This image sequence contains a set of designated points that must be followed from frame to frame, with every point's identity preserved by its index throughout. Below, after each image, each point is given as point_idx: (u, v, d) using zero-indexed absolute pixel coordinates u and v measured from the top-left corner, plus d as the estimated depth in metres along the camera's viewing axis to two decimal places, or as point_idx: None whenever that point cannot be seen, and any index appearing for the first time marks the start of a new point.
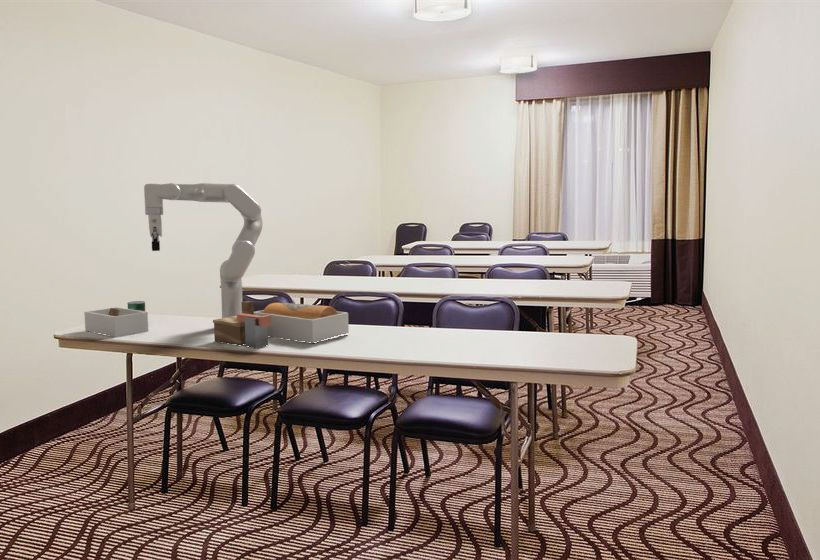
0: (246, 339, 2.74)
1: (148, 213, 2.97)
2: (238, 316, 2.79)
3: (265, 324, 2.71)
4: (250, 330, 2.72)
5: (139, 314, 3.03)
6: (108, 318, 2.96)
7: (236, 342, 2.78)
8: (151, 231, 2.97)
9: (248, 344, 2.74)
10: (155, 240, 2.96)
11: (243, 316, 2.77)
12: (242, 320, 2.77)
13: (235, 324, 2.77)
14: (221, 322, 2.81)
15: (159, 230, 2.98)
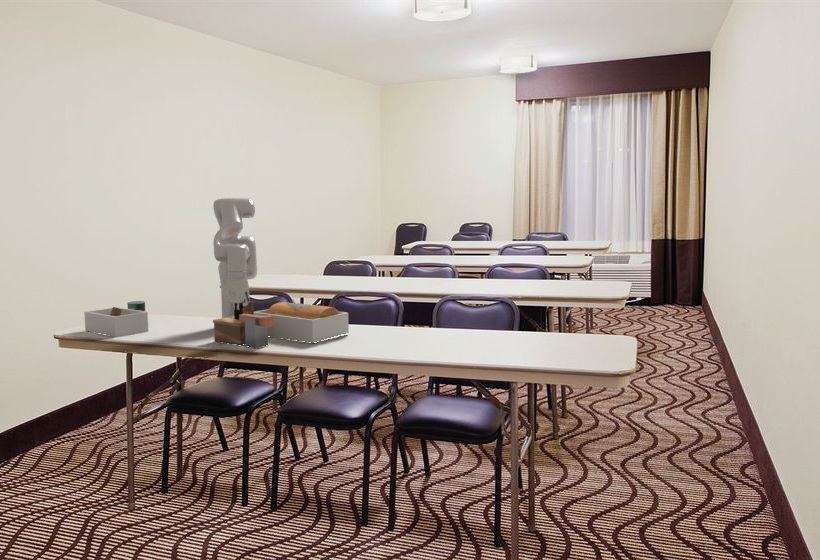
0: (246, 339, 2.74)
1: None
2: (240, 316, 2.78)
3: (268, 324, 2.70)
4: (250, 330, 2.72)
5: (139, 314, 3.03)
6: (108, 318, 2.96)
7: (236, 342, 2.78)
8: None
9: (248, 344, 2.74)
10: None
11: (246, 316, 2.76)
12: None
13: (235, 324, 2.77)
14: (221, 322, 2.81)
15: None
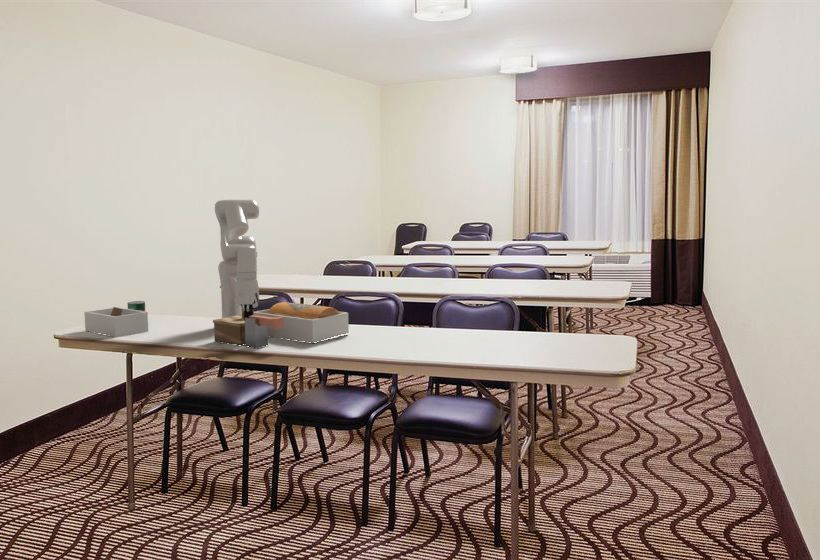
0: (246, 339, 2.74)
1: None
2: None
3: (278, 326, 2.67)
4: (250, 330, 2.72)
5: (139, 314, 3.03)
6: (108, 318, 2.96)
7: (236, 342, 2.78)
8: None
9: (248, 344, 2.74)
10: None
11: (256, 318, 2.73)
12: None
13: (235, 324, 2.77)
14: (221, 322, 2.81)
15: None
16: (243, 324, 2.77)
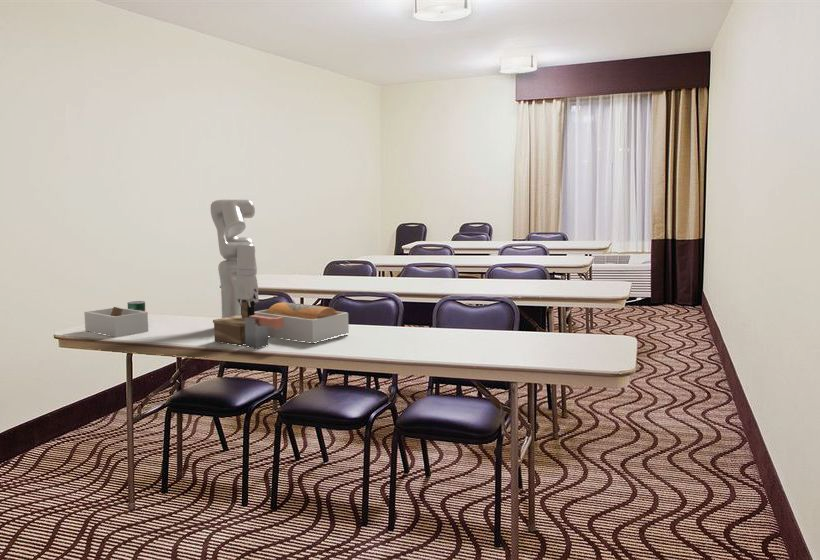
0: (246, 339, 2.74)
1: None
2: None
3: (278, 326, 2.67)
4: (250, 330, 2.72)
5: (139, 314, 3.03)
6: (108, 318, 2.96)
7: (236, 342, 2.78)
8: None
9: (248, 344, 2.74)
10: None
11: (256, 318, 2.73)
12: None
13: (235, 324, 2.77)
14: (221, 322, 2.81)
15: None
16: (243, 324, 2.77)
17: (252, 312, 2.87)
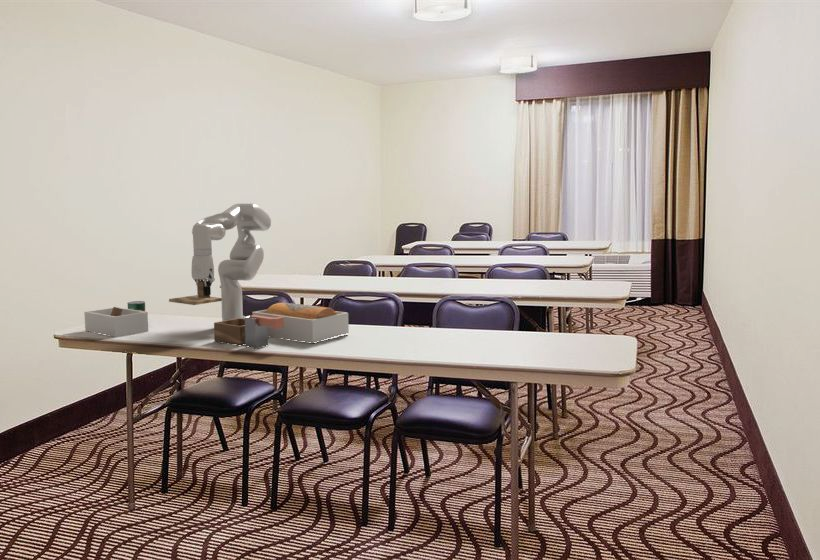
0: (246, 339, 2.74)
1: None
2: None
3: (278, 326, 2.67)
4: (250, 330, 2.72)
5: (139, 314, 3.03)
6: (108, 318, 2.96)
7: (236, 342, 2.78)
8: None
9: (248, 344, 2.74)
10: None
11: (256, 318, 2.73)
12: None
13: (189, 302, 2.81)
14: (176, 301, 2.86)
15: None
16: (197, 302, 2.82)
17: (208, 291, 2.92)
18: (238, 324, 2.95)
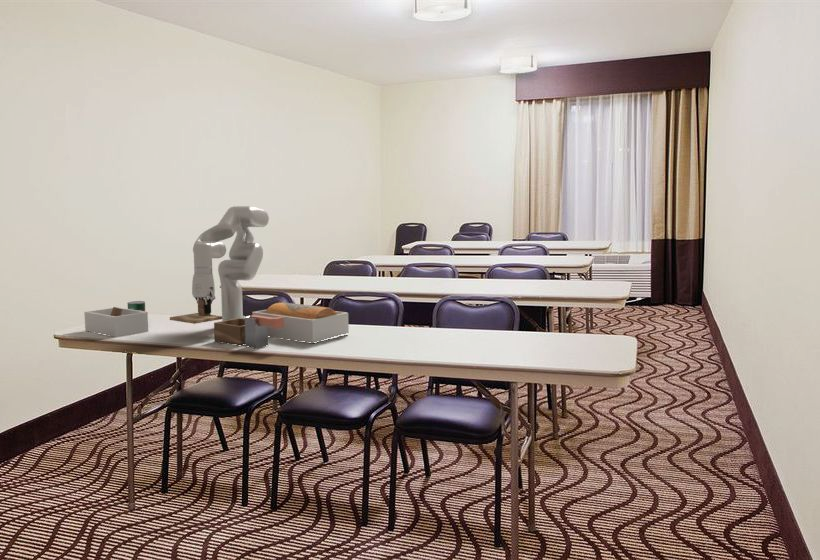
0: (246, 339, 2.74)
1: None
2: None
3: (278, 326, 2.67)
4: (250, 330, 2.72)
5: (139, 314, 3.03)
6: (108, 318, 2.96)
7: (236, 342, 2.78)
8: None
9: (248, 344, 2.74)
10: None
11: (256, 318, 2.73)
12: None
13: (190, 321, 2.82)
14: (177, 319, 2.87)
15: None
16: (198, 321, 2.82)
17: (209, 310, 2.93)
18: (238, 324, 2.95)
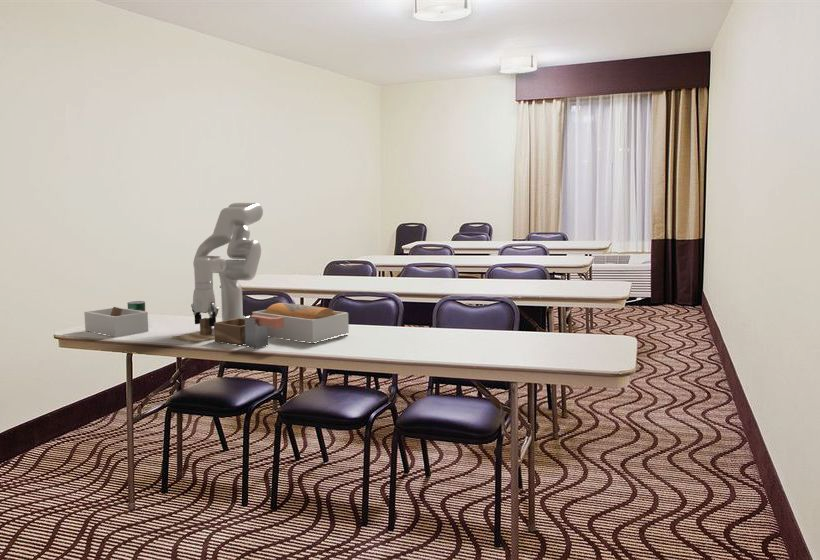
0: (246, 339, 2.74)
1: None
2: None
3: (278, 326, 2.67)
4: (250, 330, 2.72)
5: (139, 314, 3.03)
6: (108, 318, 2.96)
7: (236, 342, 2.78)
8: None
9: (248, 344, 2.74)
10: None
11: (256, 318, 2.73)
12: None
13: (192, 341, 2.84)
14: (179, 339, 2.89)
15: None
16: (200, 341, 2.84)
17: (213, 322, 2.92)
18: (238, 324, 2.95)
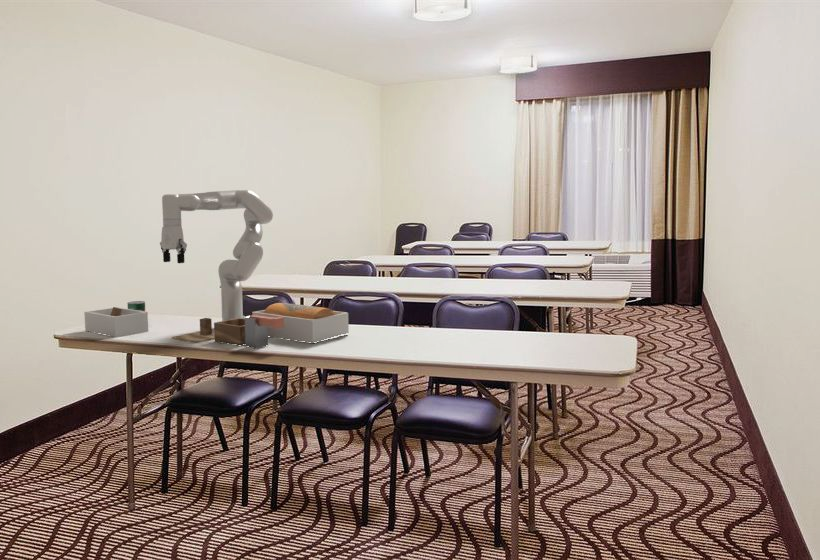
0: (246, 339, 2.74)
1: None
2: None
3: (278, 326, 2.67)
4: (250, 330, 2.72)
5: (139, 314, 3.03)
6: (108, 318, 2.96)
7: (236, 342, 2.78)
8: None
9: (248, 344, 2.74)
10: None
11: (256, 318, 2.73)
12: None
13: (192, 341, 2.84)
14: (179, 339, 2.89)
15: None
16: (200, 341, 2.84)
17: (182, 259, 2.91)
18: (238, 324, 2.95)
